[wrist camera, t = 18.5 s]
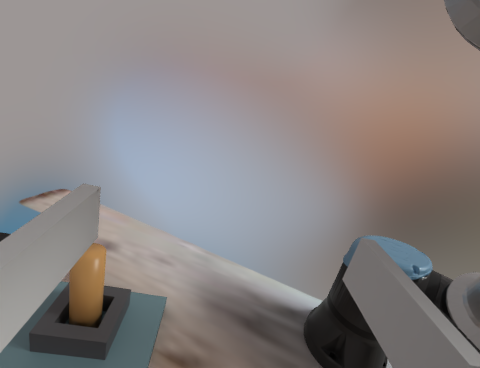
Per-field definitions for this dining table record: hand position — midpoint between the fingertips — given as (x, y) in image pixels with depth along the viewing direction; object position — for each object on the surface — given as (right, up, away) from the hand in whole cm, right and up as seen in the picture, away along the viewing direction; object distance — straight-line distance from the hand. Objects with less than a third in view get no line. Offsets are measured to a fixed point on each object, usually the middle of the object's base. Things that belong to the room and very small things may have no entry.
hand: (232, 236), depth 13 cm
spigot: (-24, -20, +28) cm, 42 cm away
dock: (-24, -21, +29) cm, 43 cm away
